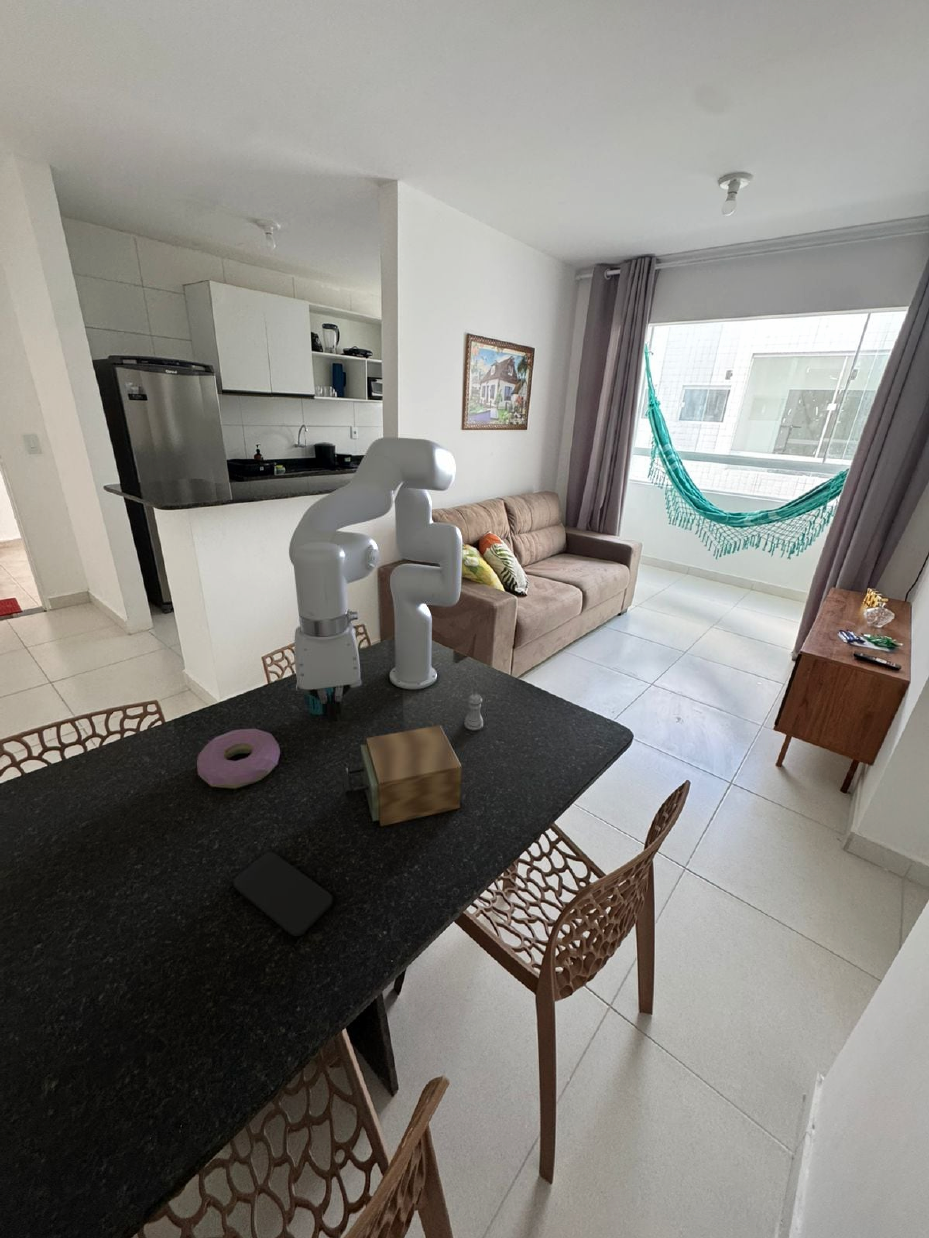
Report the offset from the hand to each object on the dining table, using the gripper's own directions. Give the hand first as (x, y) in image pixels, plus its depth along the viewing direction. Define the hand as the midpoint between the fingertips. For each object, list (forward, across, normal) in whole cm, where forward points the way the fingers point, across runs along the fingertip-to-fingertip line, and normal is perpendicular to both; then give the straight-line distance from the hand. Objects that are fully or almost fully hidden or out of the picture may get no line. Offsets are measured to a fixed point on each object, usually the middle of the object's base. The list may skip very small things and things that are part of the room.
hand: (332, 717), depth 88 cm
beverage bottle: (+19, +1, -29) cm, 35 cm away
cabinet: (+18, -14, +2) cm, 23 cm away
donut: (+18, +18, -14) cm, 29 cm away
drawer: (+17, -10, +2) cm, 20 cm away
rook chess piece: (+19, -32, -15) cm, 40 cm away
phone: (+18, +10, +18) cm, 27 cm away
